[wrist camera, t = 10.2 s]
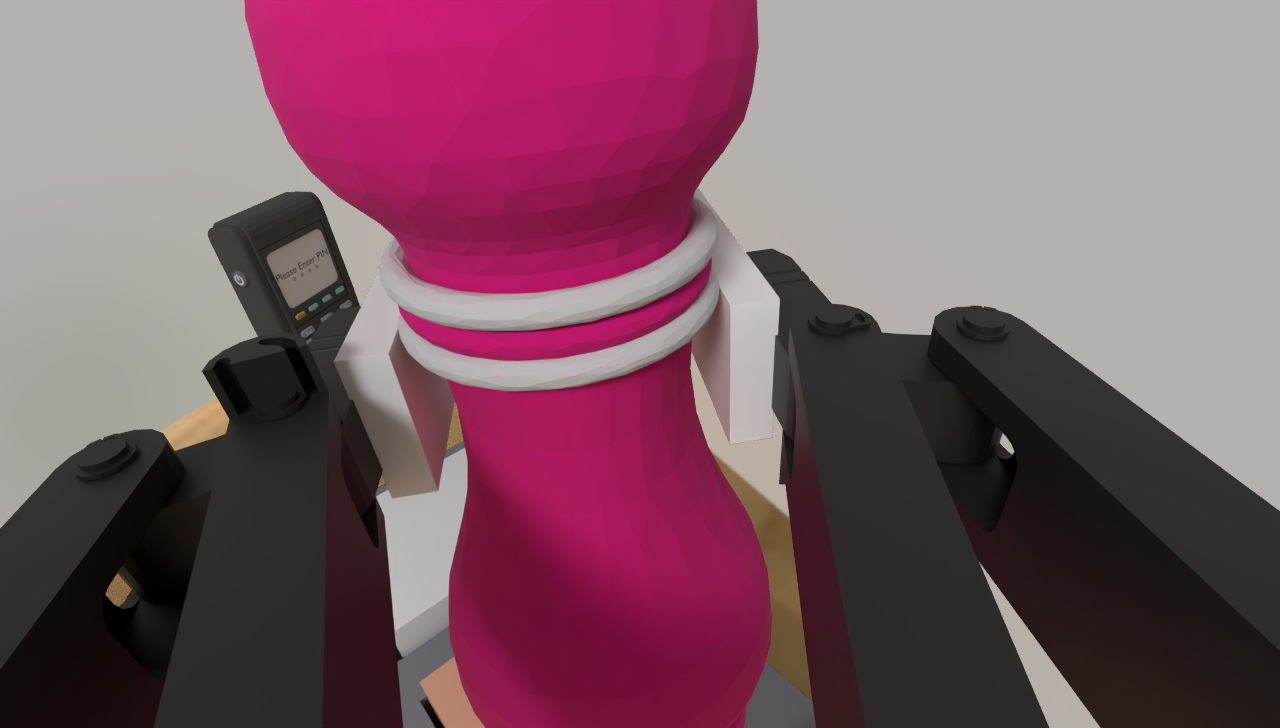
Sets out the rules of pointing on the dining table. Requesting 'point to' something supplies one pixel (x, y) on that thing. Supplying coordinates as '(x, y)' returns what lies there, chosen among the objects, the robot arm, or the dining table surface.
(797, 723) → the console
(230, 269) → the card reader
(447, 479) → the key grey
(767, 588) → the pepper mill
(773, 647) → the dining table surface
